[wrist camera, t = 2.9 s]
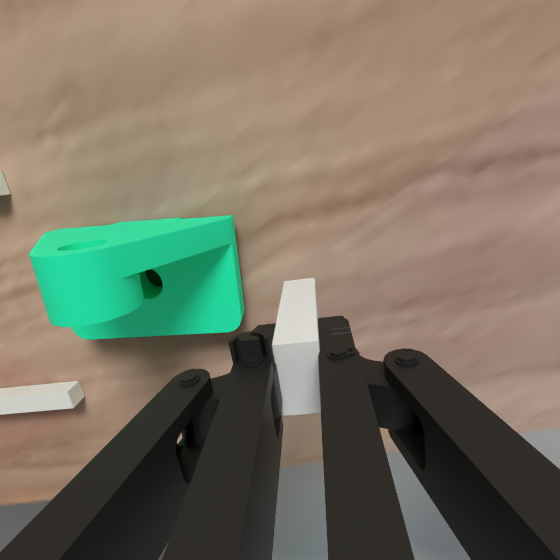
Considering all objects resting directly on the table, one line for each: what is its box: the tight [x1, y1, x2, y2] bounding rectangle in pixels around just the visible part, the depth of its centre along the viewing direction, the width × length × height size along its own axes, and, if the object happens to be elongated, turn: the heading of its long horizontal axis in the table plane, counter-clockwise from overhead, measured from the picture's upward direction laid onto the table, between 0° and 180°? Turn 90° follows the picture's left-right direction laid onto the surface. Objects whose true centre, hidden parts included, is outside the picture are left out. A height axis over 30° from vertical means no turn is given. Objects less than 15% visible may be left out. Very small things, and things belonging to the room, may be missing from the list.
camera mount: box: [29, 215, 245, 339], centre depth 21 cm, size 12×8×10 cm, turn 95°
